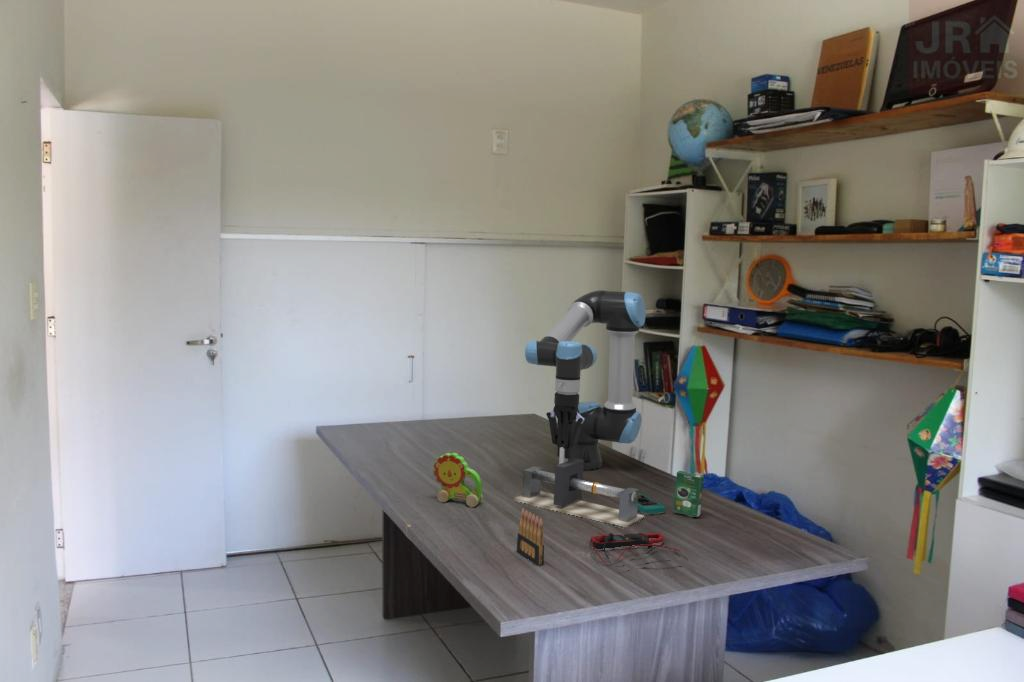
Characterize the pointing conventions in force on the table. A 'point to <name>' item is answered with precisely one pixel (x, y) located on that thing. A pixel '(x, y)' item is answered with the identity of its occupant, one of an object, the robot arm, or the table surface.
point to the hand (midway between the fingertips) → (563, 467)
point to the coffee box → (688, 493)
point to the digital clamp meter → (625, 541)
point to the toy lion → (456, 479)
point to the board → (578, 509)
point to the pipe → (626, 496)
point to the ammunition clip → (531, 538)
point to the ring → (567, 481)
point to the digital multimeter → (649, 505)
